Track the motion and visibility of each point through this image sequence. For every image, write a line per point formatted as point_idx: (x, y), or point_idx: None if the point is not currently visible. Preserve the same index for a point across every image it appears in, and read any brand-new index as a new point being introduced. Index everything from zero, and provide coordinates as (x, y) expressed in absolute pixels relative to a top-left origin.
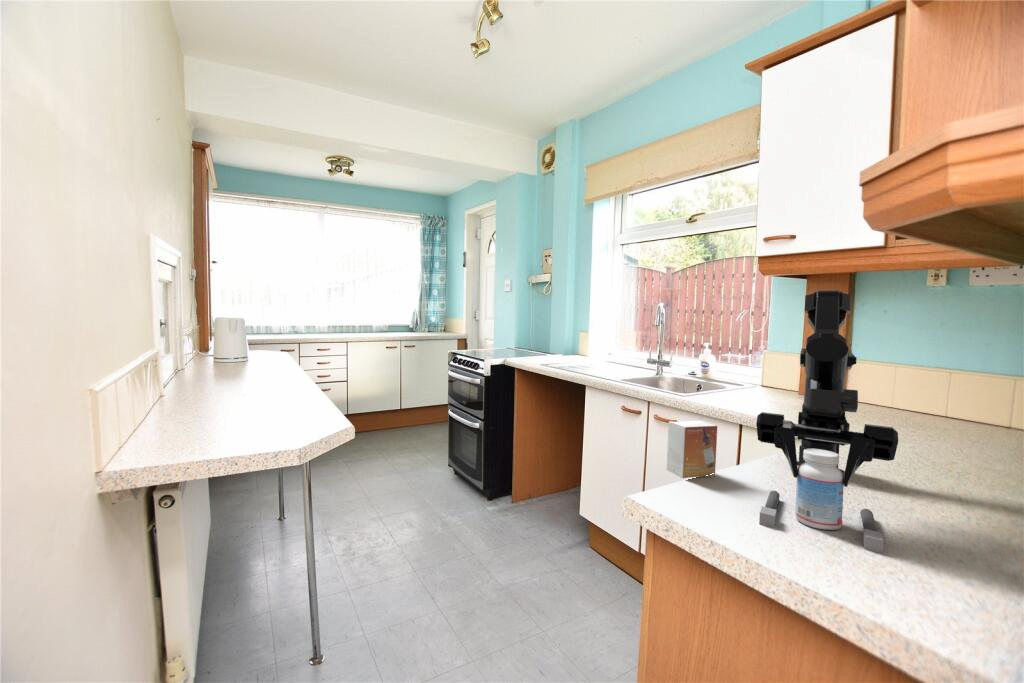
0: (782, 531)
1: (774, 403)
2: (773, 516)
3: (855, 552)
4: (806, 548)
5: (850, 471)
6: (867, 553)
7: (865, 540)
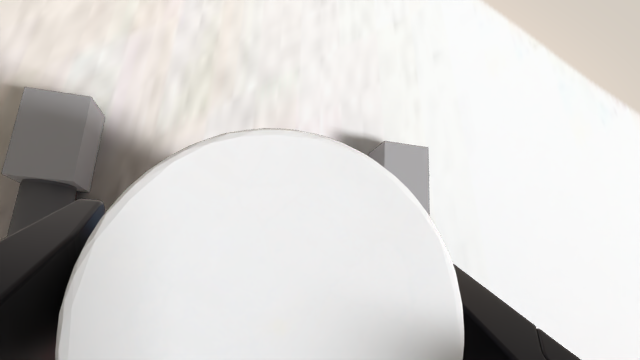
0: (345, 134)
1: None
2: (387, 142)
3: (143, 75)
4: (283, 42)
5: (3, 247)
6: (104, 84)
7: (94, 102)
